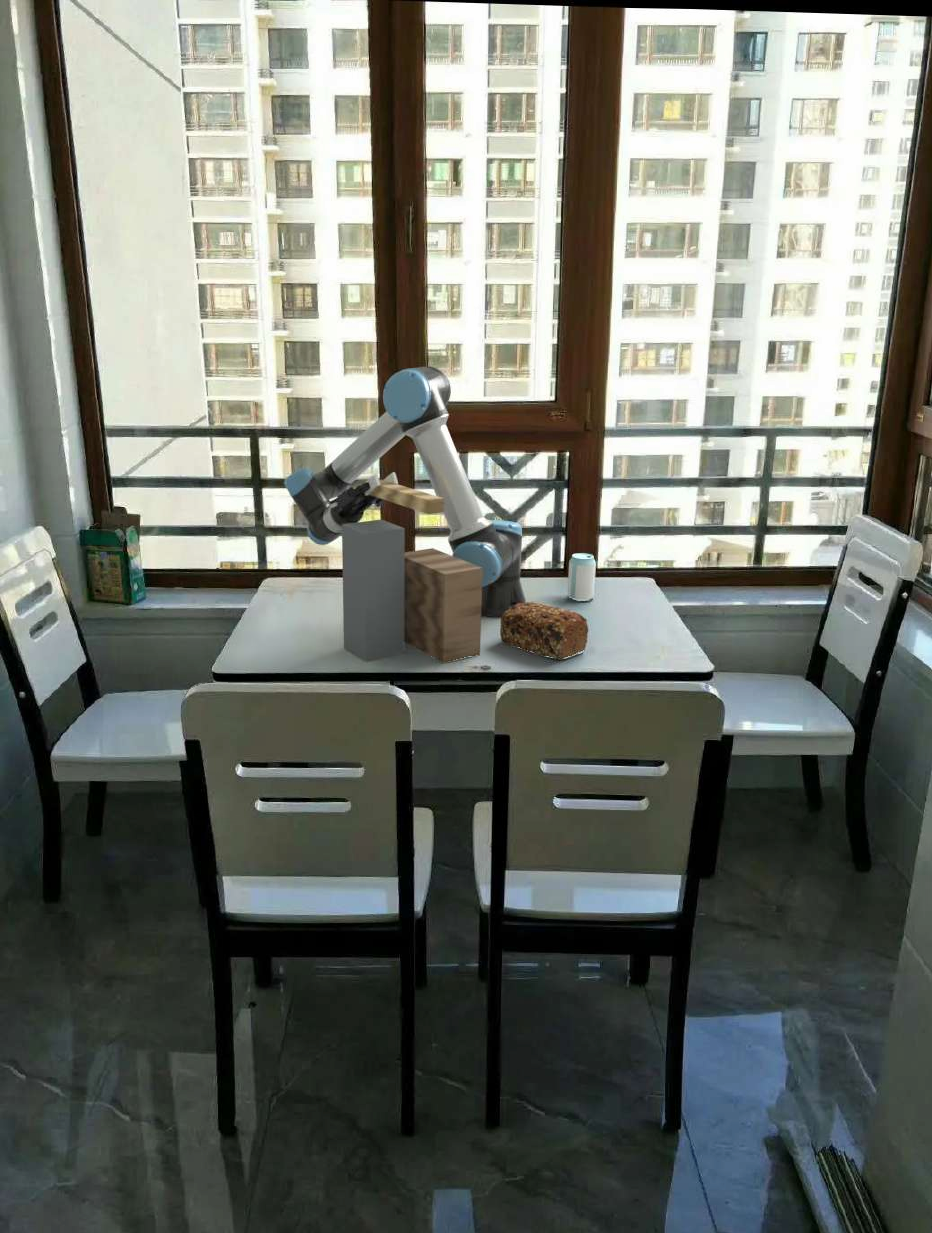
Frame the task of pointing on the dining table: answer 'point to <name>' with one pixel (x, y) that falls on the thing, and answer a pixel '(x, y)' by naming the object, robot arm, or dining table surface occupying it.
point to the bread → (544, 629)
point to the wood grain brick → (442, 605)
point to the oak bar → (408, 497)
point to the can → (581, 576)
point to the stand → (373, 588)
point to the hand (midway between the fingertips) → (386, 478)
